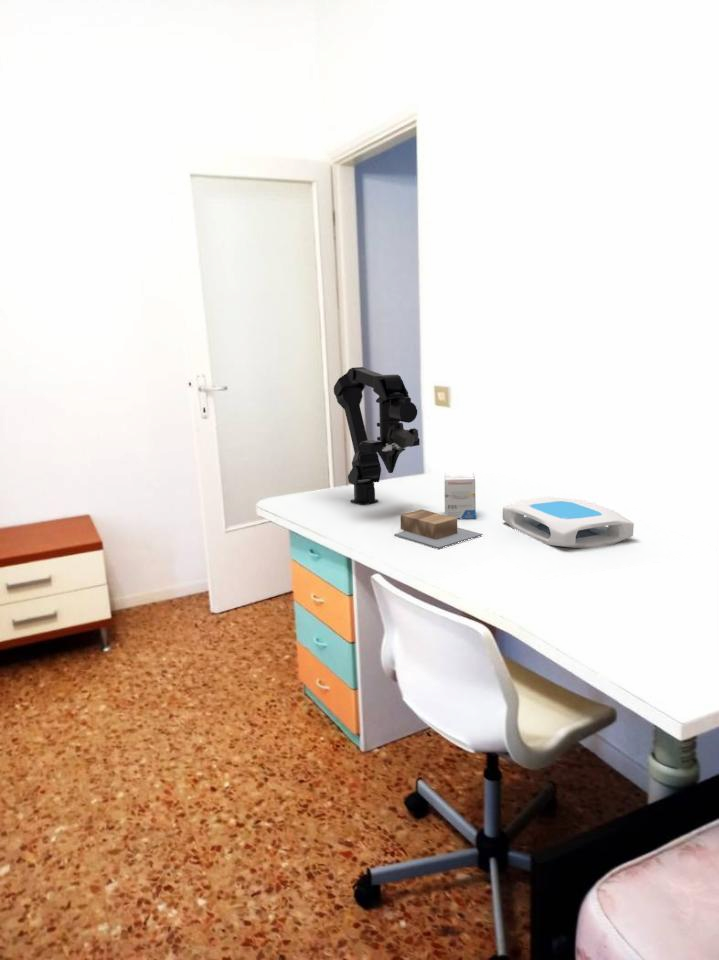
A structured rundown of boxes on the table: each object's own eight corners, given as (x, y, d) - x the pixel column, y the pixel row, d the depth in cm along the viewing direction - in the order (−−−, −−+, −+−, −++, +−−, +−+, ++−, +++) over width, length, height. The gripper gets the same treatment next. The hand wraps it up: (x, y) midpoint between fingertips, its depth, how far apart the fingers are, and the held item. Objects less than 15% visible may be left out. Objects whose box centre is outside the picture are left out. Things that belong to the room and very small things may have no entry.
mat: (394, 535, 180) (394, 533, 180) (437, 523, 190) (437, 522, 190) (438, 549, 168) (438, 547, 168) (482, 535, 178) (482, 533, 178)
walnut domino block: (400, 514, 184) (435, 524, 174) (422, 509, 188) (457, 518, 179) (400, 529, 184) (435, 539, 175) (422, 523, 189) (457, 533, 179)
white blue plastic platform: (566, 515, 196) (566, 493, 195) (634, 541, 171) (636, 517, 169) (500, 523, 190) (501, 501, 188) (562, 552, 164) (563, 527, 163)
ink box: (474, 511, 202) (474, 472, 200) (475, 519, 194) (476, 478, 192) (444, 511, 203) (444, 472, 201) (444, 519, 195) (444, 478, 193)
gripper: (383, 425, 186) (384, 481, 189) (432, 418, 197) (433, 471, 201) (357, 421, 194) (359, 476, 197) (406, 415, 206) (406, 466, 209)
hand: (390, 472), depth 201 cm, fingers closed
